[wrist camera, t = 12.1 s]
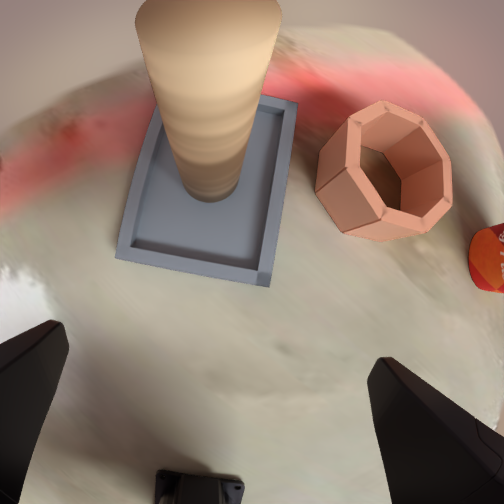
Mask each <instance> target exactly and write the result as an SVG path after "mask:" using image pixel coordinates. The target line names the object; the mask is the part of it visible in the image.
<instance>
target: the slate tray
mask: <svg viewBox="0 0 504 504" xmlns="http://www.w3.org/2000/svg"><path fill="white" fill-rule="evenodd" d="M297 108H298V103H295V102H291V101H287V100H283V99H279V98H275V97H270V96H265V95H260V99H259V102H258V106H257V110H256V114H255V118H254V121H253V125H252V129H251V133H250V137H249V141H248V145H247V149H246V153H245V157H244V161H243V165H242V169H241V173H240V177H239V181H238V185H237V187H236V189H235V190H234V192H233V193H232V194H231V195H230V196H228V197H227V198H226V199H224V200H222V201H219V202H214V203H205V202H201V201H198V200H196V199H194V198H193V197H191V196H190V195H189V194H188V193H187V191H186V190H185V188H184V186H183V183H182V180H181V177H180V174H179V171H178V168H177V165H176V162H175V159H174V156H173V153H172V150H171V147H170V144H169V140H168V137H167V134H166V131H165V128H164V125H163V121H162V118H161V115H160V112H159V108H158V105H157V104H156V107H155V110H154V113H153V115H152V118H151V121H150V124H149V127H148V130H147V133H146V136H145V139H144V142H143V145H142V148H141V152H140V155H139V158H138V161H137V165H136V168H135V172H134V175H133V179H132V183H131V187H130V190H129V194H128V198H127V202H126V206H125V211H124V215H123V219H122V224H121V228H120V233H119V238H118V243H117V248H116V254H115V258H116V259H121V260H125V261H130V262H135V263H140V264H145V265H150V266H155V267H160V268H165V269H170V270H175V271H180V272H185V273H191V274H196V275H201V276H207V277H212V278H218V279H223V280H229V281H234V282H240V283H246V284H252V285H257V286H263V287H270V281H271V276H272V270H273V264H274V258H275V252H276V246H277V240H278V234H279V228H280V222H281V216H282V209H283V203H284V197H285V190H286V184H287V177H288V171H289V164H290V157H291V150H292V143H293V137H294V130H295V122H296V115H297Z"/></svg>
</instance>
